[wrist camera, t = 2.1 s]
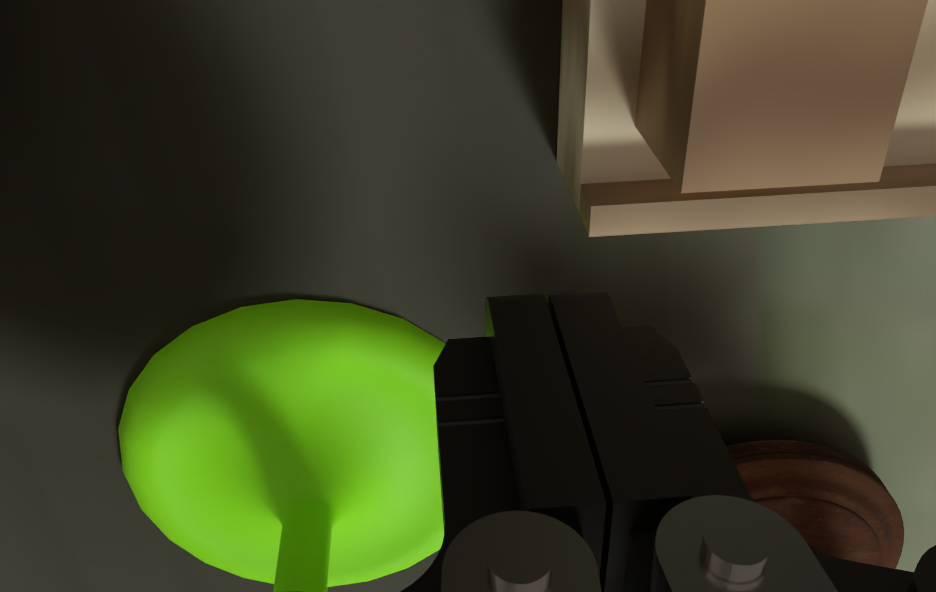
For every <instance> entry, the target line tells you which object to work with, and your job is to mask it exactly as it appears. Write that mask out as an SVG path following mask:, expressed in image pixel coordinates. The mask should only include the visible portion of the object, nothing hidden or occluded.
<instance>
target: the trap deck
mask: <svg viewBox="0 0 936 592" xmlns="http://www.w3.org/2000/svg"><path fill="white" fill-rule="evenodd" d="M645 8H646V0H563V7H562V34H561V61H560V87H559V114H558V141H557V163H558V166H559V168H560V170H561V173H562V175H563V177H564V180H565V182H566V184H567V187H568V189H569V191H570V194H571V196H572V198H573V201H574V203H575V205H576V208H577V210H578V212H579V215H580V217H581V219H582V222H583V224H584V226H585V229H586V231H587V233H588V236H589V237H598V236H614V235H631V234H647V233H663V232H680V231H696V230H713V229H729V228H745V227H762V226H778V225H794V224H811V223H827V222H844V221H860V220H876V219H893V218H909V217H925V216H936V0H928V3H927V6H926V10H925V14H924V18H923V21H922V25H921V29H920V32H919V36H918V40H917V43H916V47H915V51H914V54H913V58H912V62H911V66H910V69H909V73H908V77H907V80H906V84H905V88H904V91H903V95H902V99H901V103H900V106H899V110H898V114H897V117H896V121H895V125H894V128H893V132H892V136H891V140H890V143H889V147H888V151H887V154H886V158H885V162H884V165H883V169H882V173H881V177H880V180H879V182H866V183H848V184H831V185H814V186H797V187H780V188H763V189H746V190H729V191H712V192H694V193H681V192H680V191H679V189H678V188H677V187H676V185H675V184H674V182H673V181H672V179H671V178H670V176H669V175H668V173H667V172H666V171H665V169H664V168H663V166H662V165H661V163H660V162H659V160H658V159H657V157H656V156H655V155H654V153H653V152H652V150H651V149H650V147H649V146H648V144H647V143H646V142H645V140H644V139H643V137H642V136H641V134H640V133H639V131H638V130H637V128H636V127H635V119H636V108H637V97H638V86H639V74H640V63H641V52H642V41H643V30H644V19H645Z"/></svg>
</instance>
